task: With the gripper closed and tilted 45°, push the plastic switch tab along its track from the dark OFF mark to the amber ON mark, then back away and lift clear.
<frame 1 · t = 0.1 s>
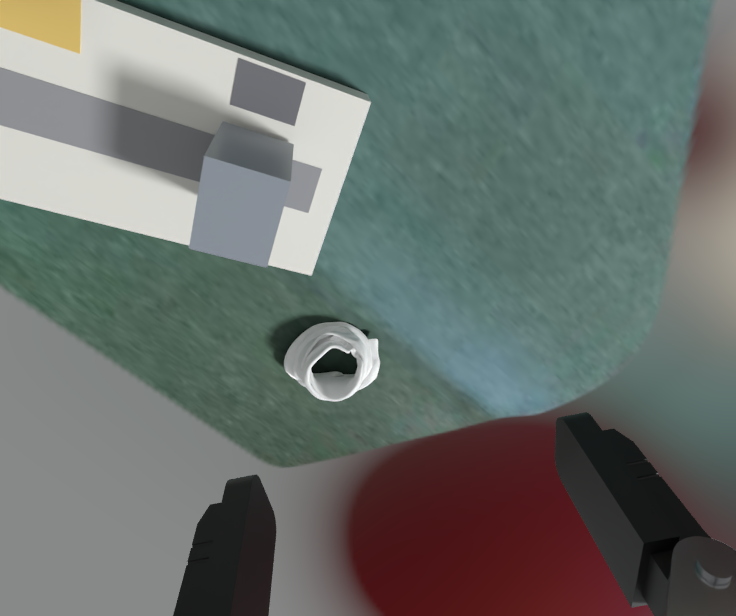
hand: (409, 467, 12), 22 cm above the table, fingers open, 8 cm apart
white folded ring: (330, 348, 40), on the table
switch housing: (161, 132, 28), on the table
switch tab: (244, 193, 25), point 5 cm above the table, slide at 0.0 cm
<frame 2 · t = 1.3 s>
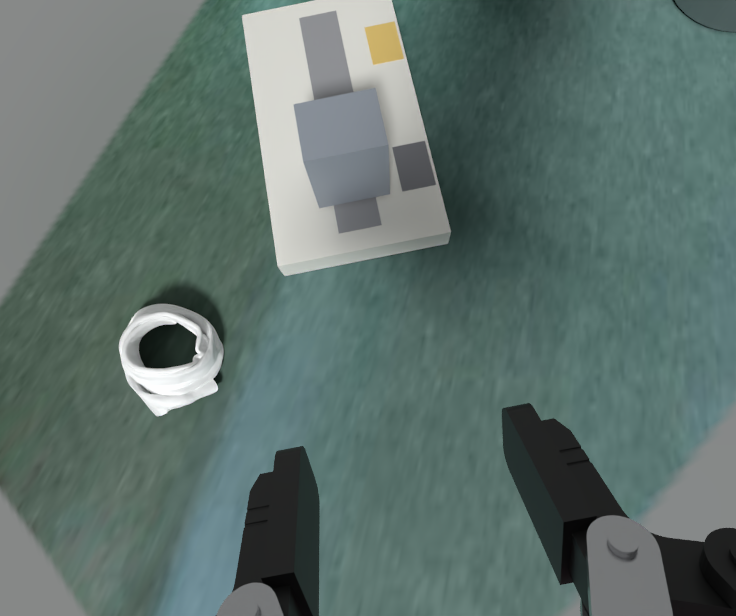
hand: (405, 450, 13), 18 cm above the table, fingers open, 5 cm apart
white folded ring: (179, 356, 33), on the table
switch housing: (340, 131, 37), on the table
switch tab: (345, 152, 30), point 5 cm above the table, slide at 0.0 cm
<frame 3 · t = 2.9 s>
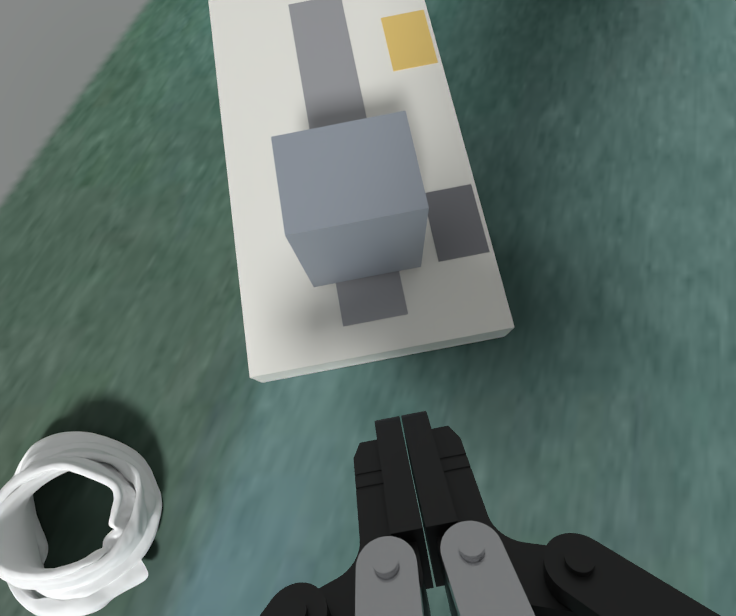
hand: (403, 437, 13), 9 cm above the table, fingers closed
white folded ring: (97, 509, 22), on the table
switch housing: (345, 164, 26), on the table
switch tab: (354, 209, 19), point 5 cm above the table, slide at 0.0 cm
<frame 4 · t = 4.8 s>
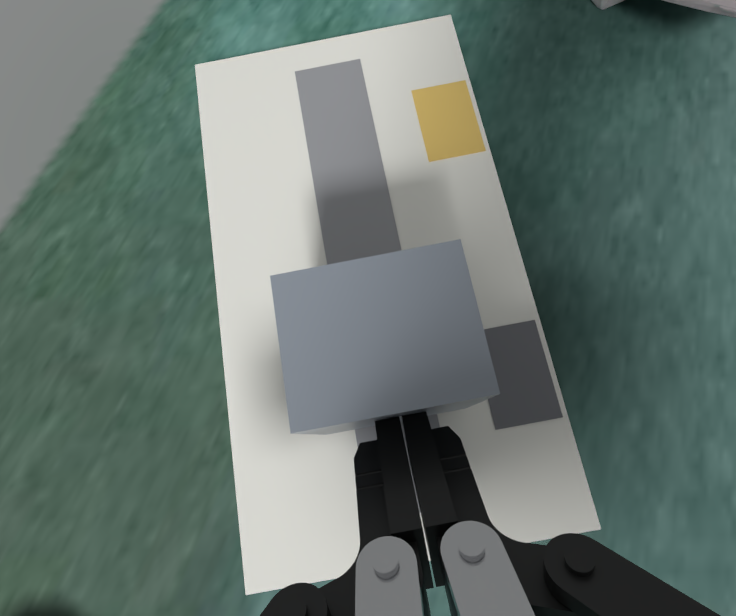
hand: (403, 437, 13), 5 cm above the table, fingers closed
switch housing: (367, 275, 20), on the table
switch tab: (382, 352, 14), point 5 cm above the table, slide at 1.1 cm, touching gripper
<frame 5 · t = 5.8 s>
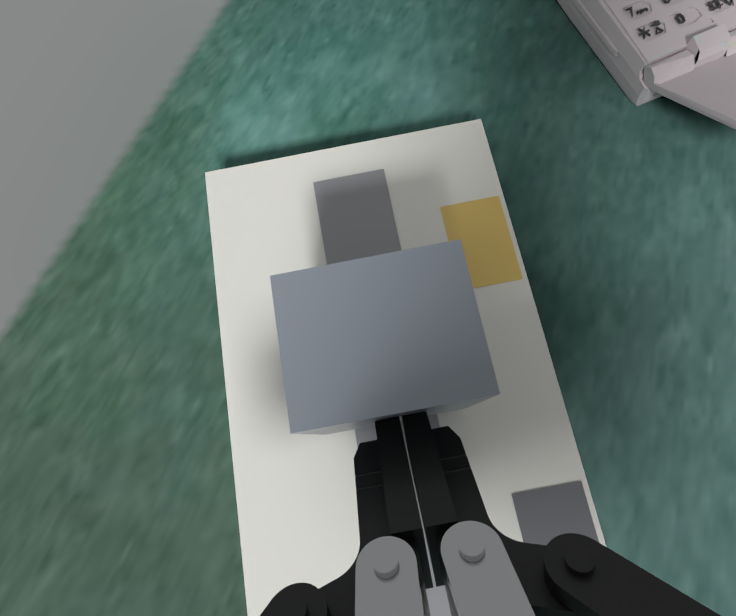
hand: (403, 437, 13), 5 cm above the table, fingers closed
switch housing: (392, 407, 19), on the table
mobile phone: (622, 24, 24), on the table
switch tab: (382, 352, 14), point 5 cm above the table, slide at 6.9 cm, touching gripper
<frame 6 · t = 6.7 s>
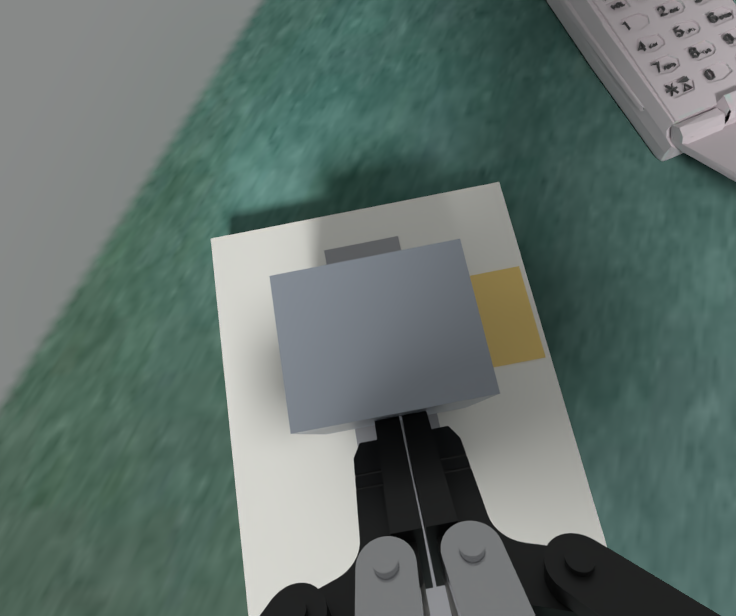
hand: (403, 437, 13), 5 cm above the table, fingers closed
switch housing: (408, 487, 18), on the table
mobile phone: (646, 72, 23), on the table
switch tab: (382, 351, 14), point 5 cm above the table, slide at 10.0 cm, touching gripper
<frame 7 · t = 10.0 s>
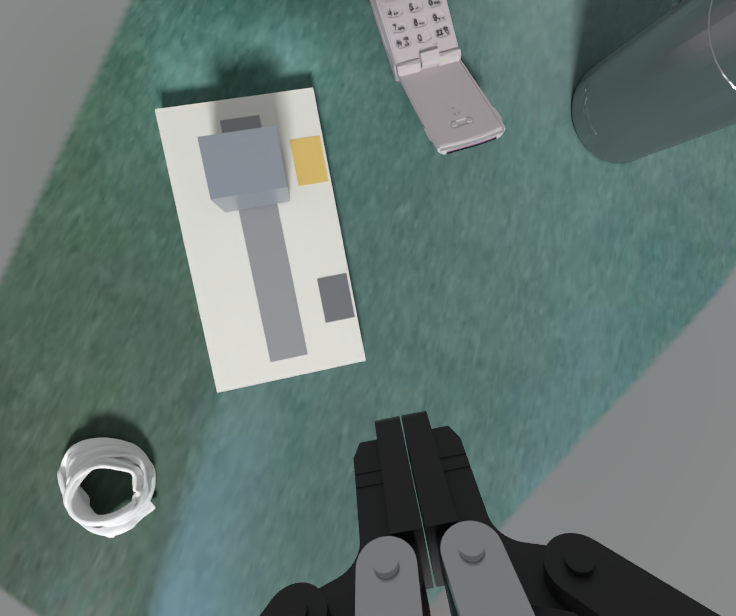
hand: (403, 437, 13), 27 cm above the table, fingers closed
white folded ring: (114, 475, 38), on the table
switch housing: (266, 242, 39), on the table
mobile phone: (405, 21, 40), on the table
switch tab: (248, 172, 33), point 5 cm above the table, slide at 10.1 cm
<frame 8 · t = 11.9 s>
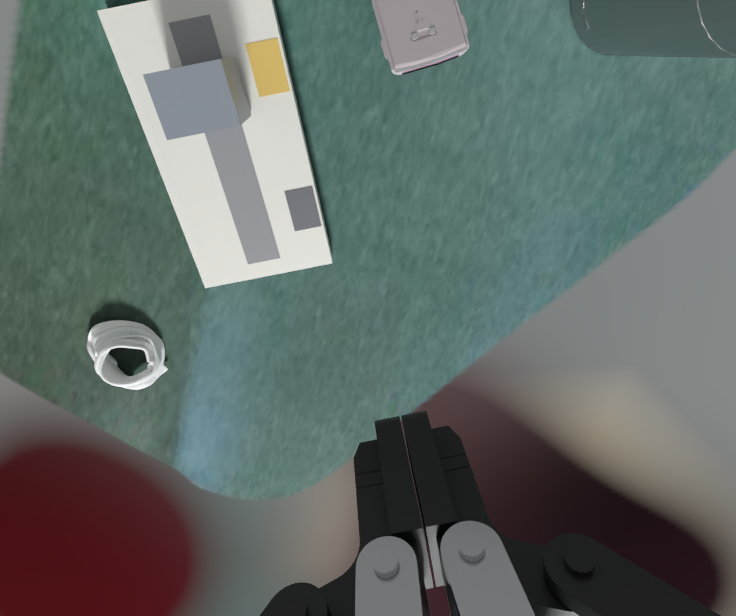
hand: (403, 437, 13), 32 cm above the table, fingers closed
white folded ring: (132, 344, 48), on the table
switch housing: (235, 150, 39), on the table
switch tab: (202, 97, 33), point 5 cm above the table, slide at 10.1 cm
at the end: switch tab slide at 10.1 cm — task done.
